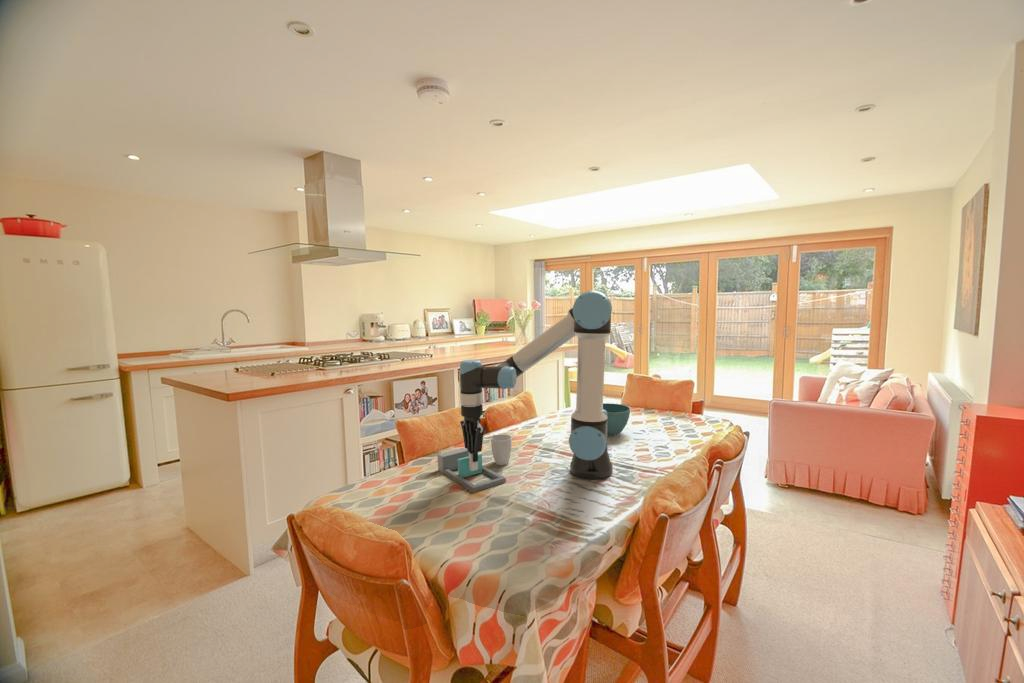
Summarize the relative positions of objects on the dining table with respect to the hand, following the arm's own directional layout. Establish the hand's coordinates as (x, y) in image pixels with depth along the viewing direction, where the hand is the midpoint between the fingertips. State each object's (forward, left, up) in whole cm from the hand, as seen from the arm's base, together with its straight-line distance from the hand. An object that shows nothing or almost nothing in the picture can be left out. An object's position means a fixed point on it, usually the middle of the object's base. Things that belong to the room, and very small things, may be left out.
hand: (473, 469), depth 154 cm
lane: (+2, 0, -3) cm, 4 cm away
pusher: (+4, 0, -3) cm, 5 cm away
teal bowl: (+4, -76, -3) cm, 76 cm away
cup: (+6, -16, -3) cm, 17 cm away
